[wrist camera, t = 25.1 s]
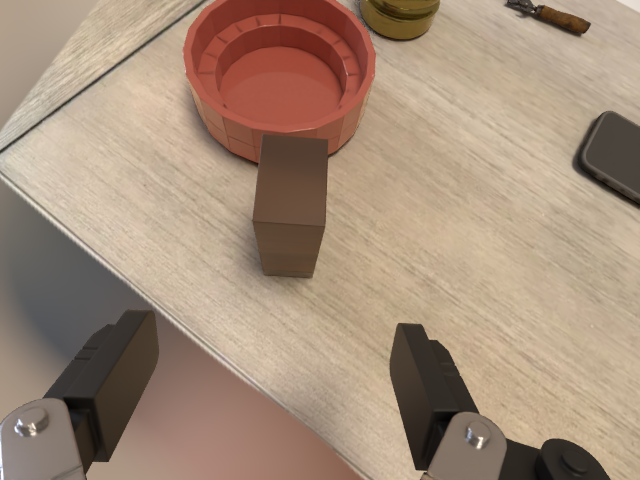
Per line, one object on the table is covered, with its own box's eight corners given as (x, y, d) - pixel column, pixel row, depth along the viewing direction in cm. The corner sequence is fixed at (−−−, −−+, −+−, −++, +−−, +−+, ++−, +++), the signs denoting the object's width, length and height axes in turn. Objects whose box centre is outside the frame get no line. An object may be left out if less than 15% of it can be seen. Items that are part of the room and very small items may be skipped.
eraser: (312, 278, 28) (325, 226, 18) (264, 275, 27) (252, 221, 18) (315, 215, 29) (328, 138, 20) (270, 212, 29) (261, 133, 20)
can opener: (585, 30, 39) (593, 20, 38) (578, 44, 38) (586, 34, 37) (505, -8, 40) (511, -19, 39) (497, 5, 39) (502, -6, 38)
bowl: (246, 197, 29) (238, 163, 25) (171, 68, 33) (152, 17, 28) (394, 127, 33) (411, 85, 28) (311, 17, 36) (315, -36, 32)
